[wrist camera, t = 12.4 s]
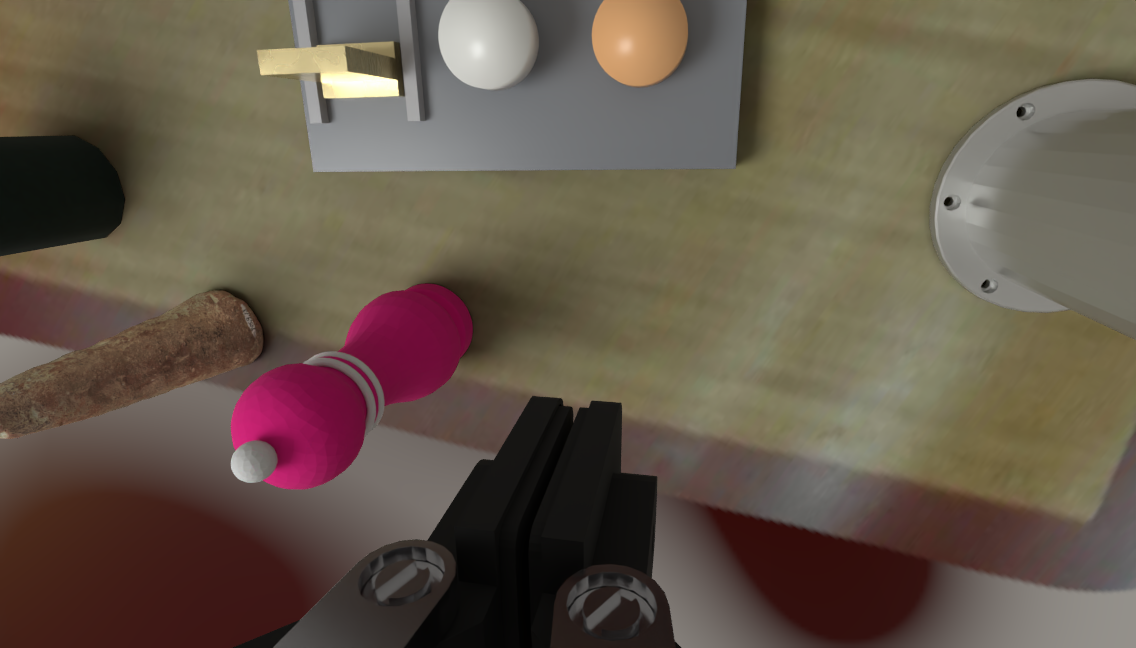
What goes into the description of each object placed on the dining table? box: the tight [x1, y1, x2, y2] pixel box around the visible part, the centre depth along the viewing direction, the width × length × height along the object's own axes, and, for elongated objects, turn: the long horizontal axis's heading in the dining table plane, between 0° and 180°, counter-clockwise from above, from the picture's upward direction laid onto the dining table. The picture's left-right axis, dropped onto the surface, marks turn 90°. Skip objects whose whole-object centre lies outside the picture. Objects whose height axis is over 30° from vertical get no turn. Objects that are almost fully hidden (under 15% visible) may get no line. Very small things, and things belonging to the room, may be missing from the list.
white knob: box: [438, 0, 539, 91], centre depth 32 cm, size 5×5×2 cm
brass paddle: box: [257, 41, 405, 99], centre depth 33 cm, size 5×3×6 cm, turn 92°
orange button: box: [592, 0, 688, 88], centre depth 32 cm, size 5×5×2 cm
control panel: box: [288, 0, 747, 172], centre depth 35 cm, size 27×14×3 cm, turn 92°
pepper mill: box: [231, 284, 473, 489], centre depth 34 cm, size 7×7×20 cm
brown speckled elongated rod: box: [0, 291, 263, 439], centre depth 39 cm, size 6×18×6 cm
